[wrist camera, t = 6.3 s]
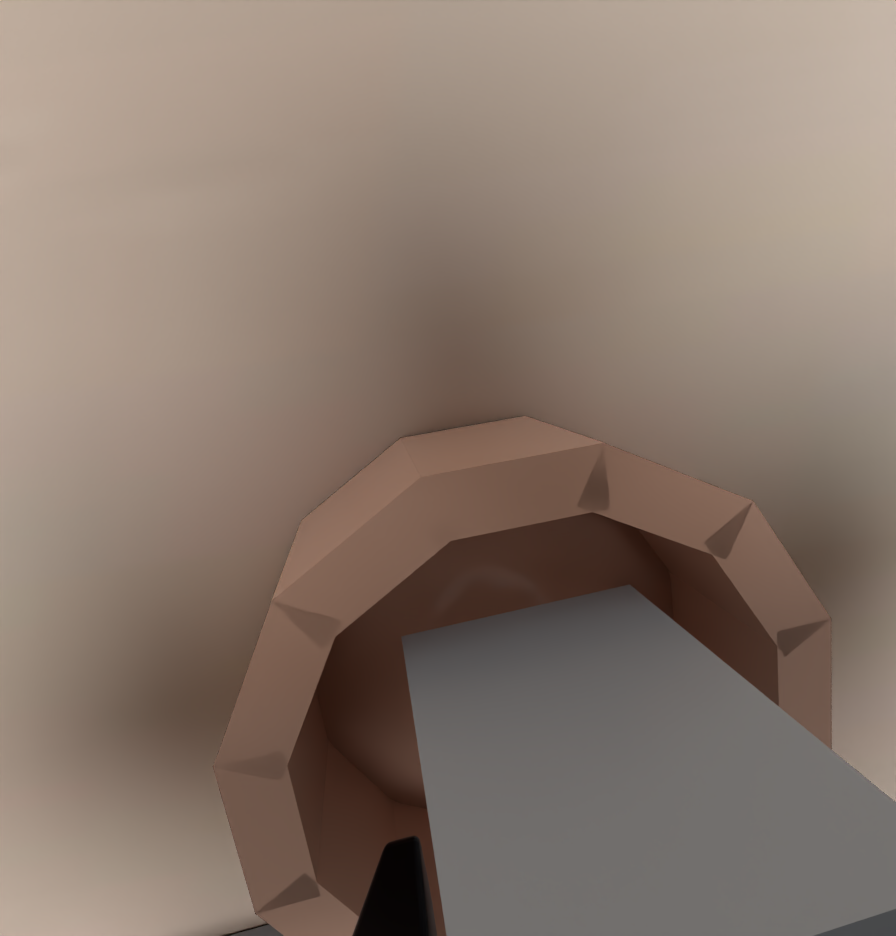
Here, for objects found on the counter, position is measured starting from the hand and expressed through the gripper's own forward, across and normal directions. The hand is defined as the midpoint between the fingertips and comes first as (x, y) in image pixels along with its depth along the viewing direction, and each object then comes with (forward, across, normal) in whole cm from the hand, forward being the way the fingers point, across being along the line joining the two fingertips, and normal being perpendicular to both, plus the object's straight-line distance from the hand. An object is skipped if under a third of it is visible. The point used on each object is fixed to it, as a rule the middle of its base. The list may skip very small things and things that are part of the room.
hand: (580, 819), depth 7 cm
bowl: (+4, 0, 0) cm, 4 cm away
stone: (+2, 0, 0) cm, 2 cm away
